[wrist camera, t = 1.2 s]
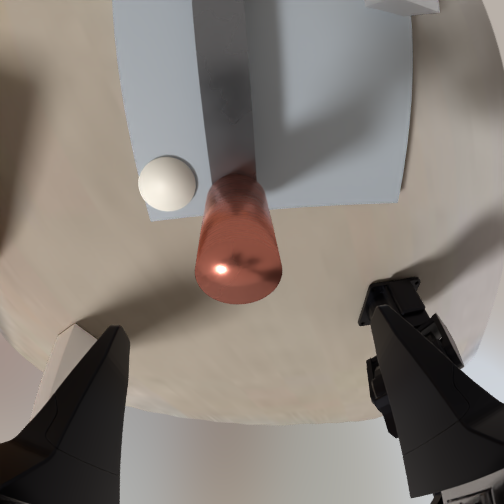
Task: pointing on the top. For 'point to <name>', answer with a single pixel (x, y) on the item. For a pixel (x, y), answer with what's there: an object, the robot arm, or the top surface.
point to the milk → (62, 362)
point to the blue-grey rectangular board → (275, 100)
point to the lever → (231, 164)
